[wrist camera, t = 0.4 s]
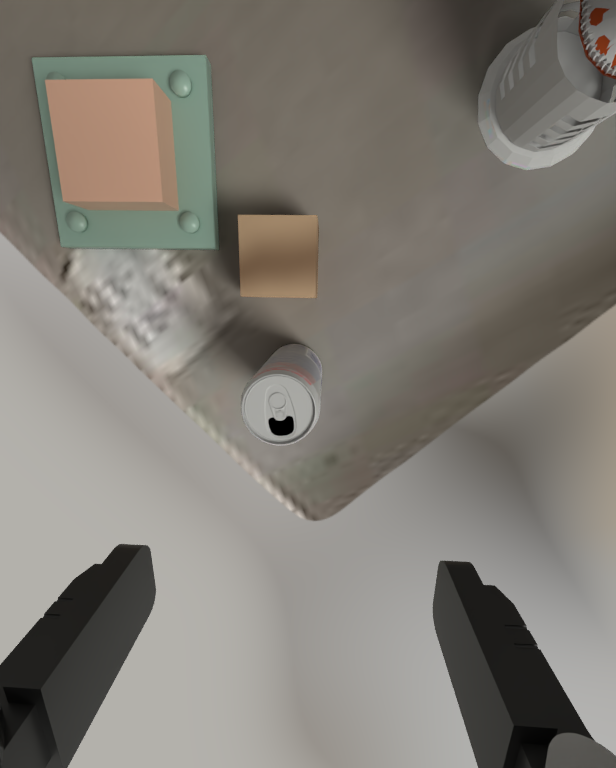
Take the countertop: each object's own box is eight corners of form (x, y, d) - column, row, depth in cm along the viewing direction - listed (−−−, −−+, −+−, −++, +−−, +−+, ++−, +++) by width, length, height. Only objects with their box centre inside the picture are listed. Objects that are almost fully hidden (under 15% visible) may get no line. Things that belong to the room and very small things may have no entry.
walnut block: (251, 227, 31) (237, 214, 26) (318, 227, 31) (317, 215, 26) (253, 296, 32) (240, 296, 28) (317, 297, 32) (315, 298, 27)
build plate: (43, 67, 28) (-4, 29, 24) (210, 64, 28) (191, 26, 24) (70, 248, 32) (33, 241, 28) (219, 250, 31) (203, 243, 27)
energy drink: (272, 398, 35) (244, 451, 23) (264, 346, 33) (231, 375, 22) (325, 393, 34) (324, 445, 23) (319, 340, 33) (314, 365, 21)
